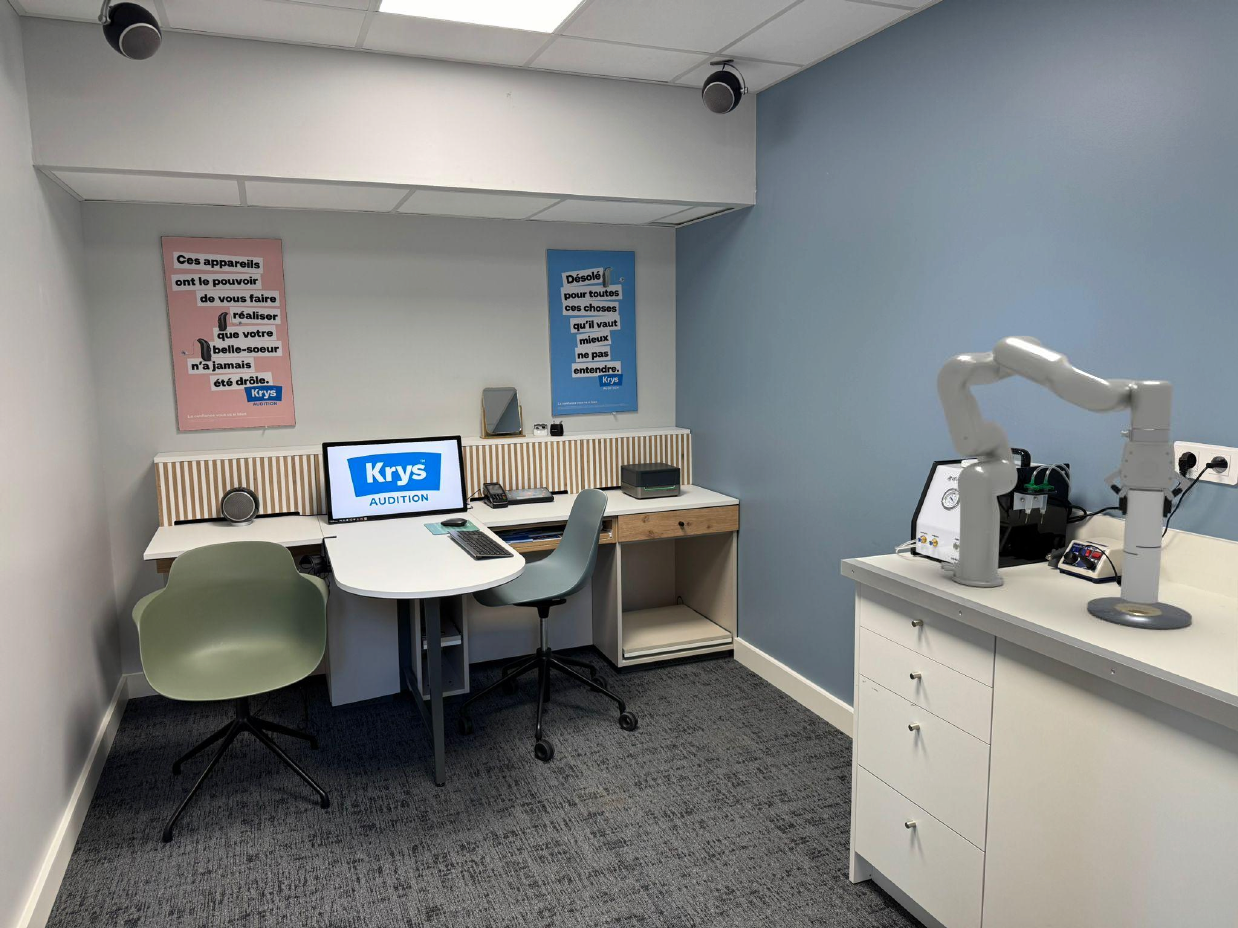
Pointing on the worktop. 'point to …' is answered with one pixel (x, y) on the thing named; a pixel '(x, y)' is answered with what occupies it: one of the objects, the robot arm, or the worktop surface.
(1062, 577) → the worktop surface
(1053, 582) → the worktop surface
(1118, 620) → the plate
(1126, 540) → the cylindrical container
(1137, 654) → the worktop surface
